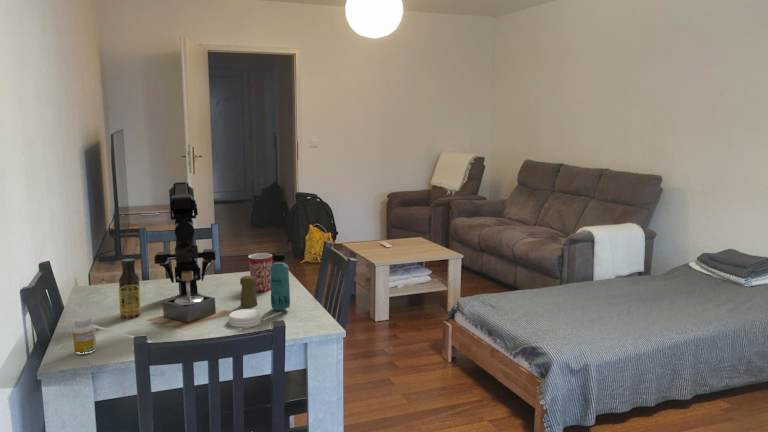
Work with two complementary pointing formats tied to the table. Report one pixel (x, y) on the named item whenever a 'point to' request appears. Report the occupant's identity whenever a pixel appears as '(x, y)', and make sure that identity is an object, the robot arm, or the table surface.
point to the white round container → (244, 318)
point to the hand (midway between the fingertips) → (187, 281)
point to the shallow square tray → (189, 309)
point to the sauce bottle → (129, 291)
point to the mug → (261, 271)
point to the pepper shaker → (248, 292)
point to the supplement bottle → (84, 335)
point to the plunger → (188, 291)
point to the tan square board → (184, 326)
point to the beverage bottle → (279, 283)
